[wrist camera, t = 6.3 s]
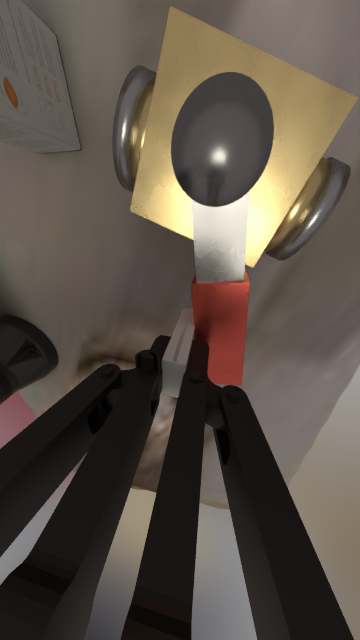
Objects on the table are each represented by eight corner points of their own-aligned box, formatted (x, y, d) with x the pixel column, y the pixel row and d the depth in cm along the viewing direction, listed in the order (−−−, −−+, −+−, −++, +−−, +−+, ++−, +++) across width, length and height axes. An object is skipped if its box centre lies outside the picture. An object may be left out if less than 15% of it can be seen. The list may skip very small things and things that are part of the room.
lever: (177, 114, 10) (163, 86, 7) (268, 91, 9) (283, 51, 6) (196, 360, 18) (192, 381, 16) (245, 363, 17) (248, 386, 15)
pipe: (142, 192, 21) (106, 185, 15) (163, 98, 17) (125, 30, 11) (269, 252, 21) (289, 269, 15) (320, 173, 17) (375, 151, 11)
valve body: (150, 203, 22) (95, 198, 13) (177, 96, 17) (119, -43, 8) (257, 253, 22) (281, 284, 13) (313, 161, 18) (416, 103, 8)
